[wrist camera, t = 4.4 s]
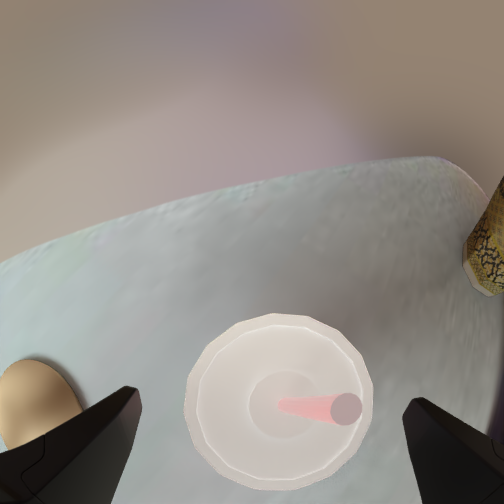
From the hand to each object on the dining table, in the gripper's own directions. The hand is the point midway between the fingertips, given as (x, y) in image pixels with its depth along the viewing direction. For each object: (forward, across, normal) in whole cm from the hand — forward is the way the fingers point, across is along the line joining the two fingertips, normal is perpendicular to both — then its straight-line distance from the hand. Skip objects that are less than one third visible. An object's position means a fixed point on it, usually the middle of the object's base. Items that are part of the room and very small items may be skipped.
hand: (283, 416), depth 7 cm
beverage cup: (+7, 0, +6) cm, 9 cm away
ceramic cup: (+15, -24, -2) cm, 29 cm away
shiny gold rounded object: (+2, +16, +10) cm, 19 cm away
